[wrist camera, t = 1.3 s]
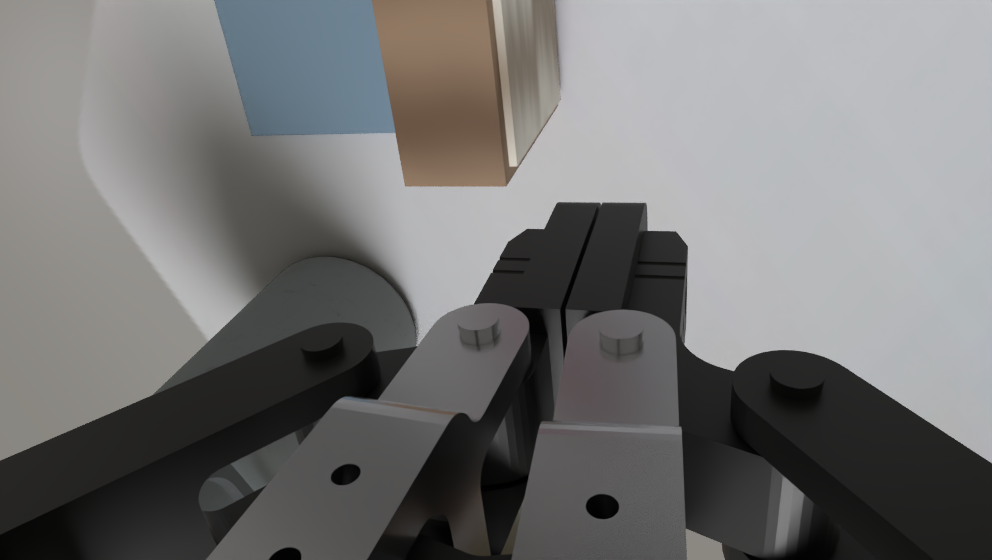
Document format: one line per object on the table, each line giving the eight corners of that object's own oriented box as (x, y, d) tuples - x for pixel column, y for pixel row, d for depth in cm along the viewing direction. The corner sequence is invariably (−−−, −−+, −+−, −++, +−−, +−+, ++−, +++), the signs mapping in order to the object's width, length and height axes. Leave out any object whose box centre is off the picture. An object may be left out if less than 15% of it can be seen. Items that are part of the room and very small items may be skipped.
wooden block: (456, -70, 32) (364, -41, 24) (552, -80, 31) (489, -53, 23) (478, 108, 36) (405, 186, 28) (564, 105, 35) (514, 186, 27)
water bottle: (367, 224, 41) (-96, 709, 18) (455, 357, 44) (159, 917, 21) (246, 282, 46) (-246, 729, 23) (334, 399, 49) (-18, 897, 26)
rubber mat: (200, -66, 35) (196, -65, 35) (432, -93, 32) (429, -92, 32) (256, 133, 40) (252, 135, 40) (461, 128, 37) (459, 131, 36)
